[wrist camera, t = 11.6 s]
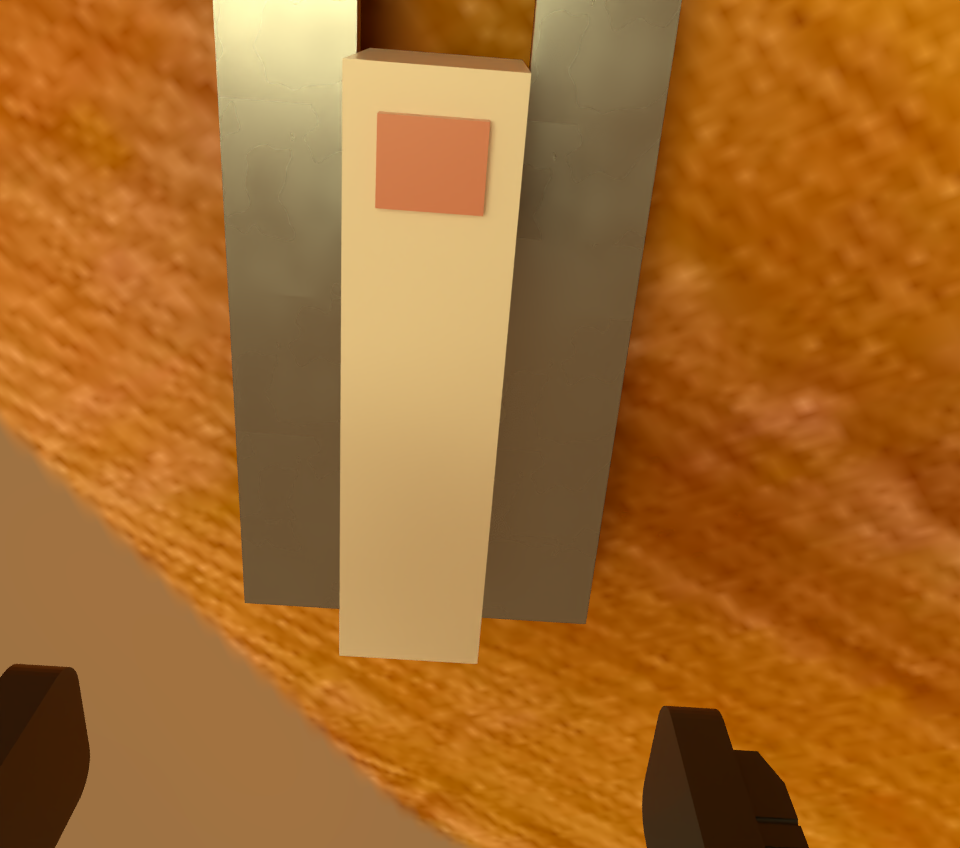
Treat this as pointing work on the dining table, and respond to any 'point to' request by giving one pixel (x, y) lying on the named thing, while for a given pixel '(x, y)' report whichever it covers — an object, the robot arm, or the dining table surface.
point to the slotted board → (534, 296)
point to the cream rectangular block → (423, 341)
